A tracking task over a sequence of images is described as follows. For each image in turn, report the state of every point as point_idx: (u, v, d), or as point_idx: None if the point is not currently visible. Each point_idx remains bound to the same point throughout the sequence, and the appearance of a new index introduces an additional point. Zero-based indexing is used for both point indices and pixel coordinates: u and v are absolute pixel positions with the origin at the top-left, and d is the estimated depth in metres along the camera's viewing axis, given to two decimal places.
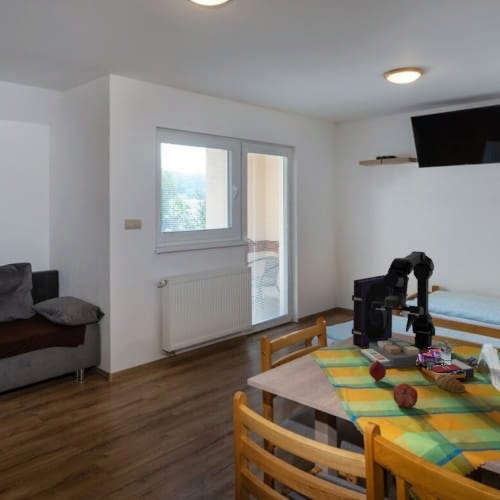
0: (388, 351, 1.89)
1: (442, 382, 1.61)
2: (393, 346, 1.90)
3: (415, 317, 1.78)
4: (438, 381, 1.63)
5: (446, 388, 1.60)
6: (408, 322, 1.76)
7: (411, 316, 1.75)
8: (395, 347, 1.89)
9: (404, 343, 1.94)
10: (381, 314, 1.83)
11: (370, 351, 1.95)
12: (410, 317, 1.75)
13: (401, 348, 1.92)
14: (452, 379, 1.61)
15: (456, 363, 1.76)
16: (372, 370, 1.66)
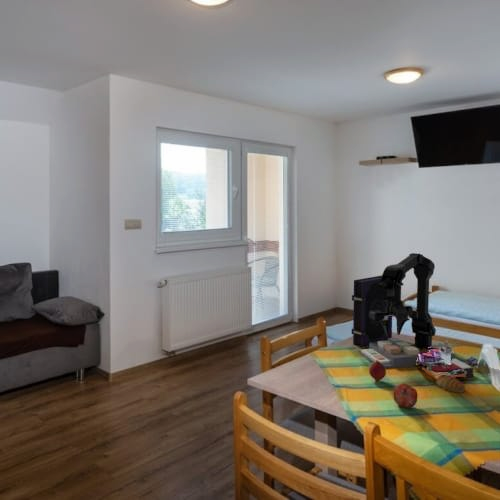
0: (388, 351, 1.89)
1: (442, 382, 1.61)
2: (393, 346, 1.90)
3: None
4: (438, 381, 1.63)
5: (447, 388, 1.60)
6: (401, 326, 1.88)
7: (405, 321, 1.87)
8: (395, 347, 1.89)
9: (404, 343, 1.94)
10: (387, 324, 1.86)
11: (370, 351, 1.95)
12: (404, 322, 1.87)
13: (401, 348, 1.92)
14: (452, 379, 1.61)
15: (455, 362, 1.77)
16: (372, 370, 1.66)
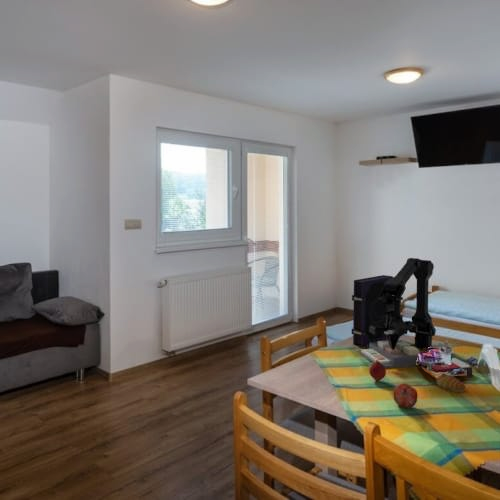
0: None
1: (443, 382, 1.62)
2: None
3: None
4: (439, 381, 1.63)
5: (447, 388, 1.60)
6: (396, 341, 1.88)
7: (400, 336, 1.87)
8: (395, 349, 1.89)
9: (404, 343, 1.94)
10: (392, 338, 1.87)
11: (370, 351, 1.95)
12: (398, 336, 1.88)
13: (401, 348, 1.92)
14: (453, 378, 1.62)
15: (455, 361, 1.78)
16: (372, 370, 1.66)
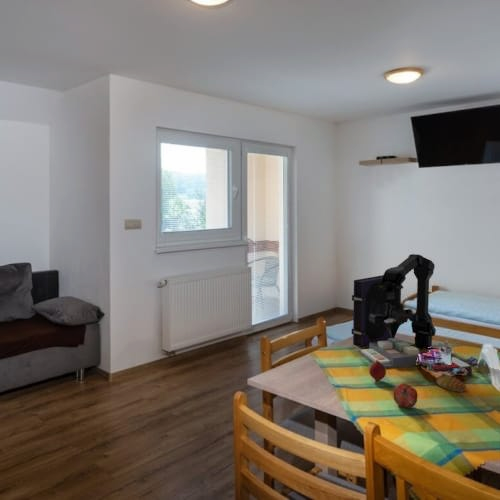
0: None
1: (443, 382, 1.62)
2: (393, 351, 1.90)
3: None
4: (439, 380, 1.63)
5: (447, 388, 1.60)
6: (396, 330, 1.88)
7: (400, 324, 1.87)
8: (395, 352, 1.89)
9: (404, 343, 1.94)
10: (392, 326, 1.87)
11: (370, 351, 1.95)
12: (399, 325, 1.87)
13: (401, 348, 1.92)
14: (453, 378, 1.62)
15: (454, 361, 1.79)
16: (372, 370, 1.66)
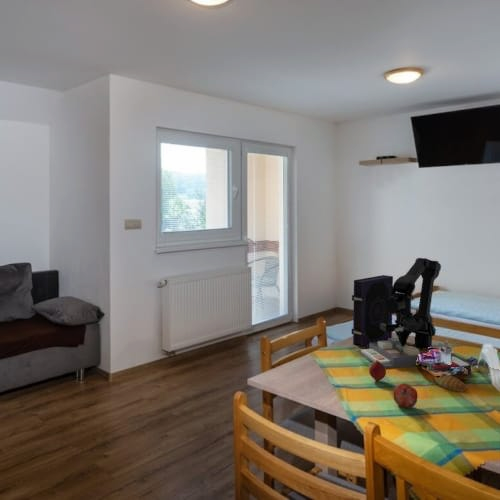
0: None
1: (443, 381, 1.62)
2: (393, 351, 1.90)
3: None
4: (439, 380, 1.63)
5: (448, 387, 1.60)
6: (406, 338, 1.93)
7: (410, 333, 1.92)
8: (395, 352, 1.89)
9: None
10: (402, 335, 1.92)
11: (370, 351, 1.95)
12: (409, 333, 1.92)
13: (401, 350, 1.92)
14: (453, 378, 1.62)
15: (454, 360, 1.80)
16: (372, 370, 1.66)
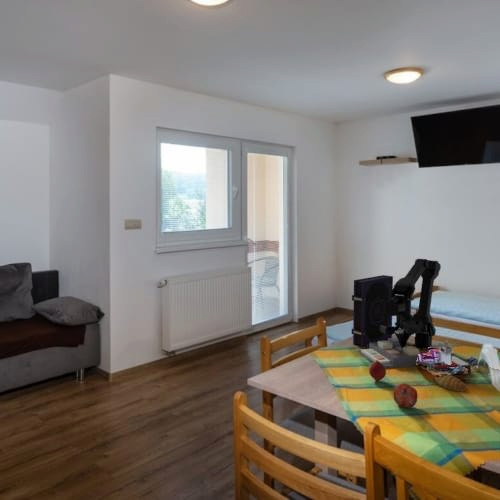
0: None
1: (444, 381, 1.62)
2: (393, 351, 1.90)
3: None
4: (439, 380, 1.64)
5: (448, 387, 1.61)
6: (406, 340, 1.93)
7: (410, 335, 1.92)
8: (395, 352, 1.89)
9: None
10: (402, 337, 1.92)
11: (370, 351, 1.95)
12: (409, 336, 1.92)
13: None
14: (453, 378, 1.62)
15: (454, 360, 1.80)
16: (372, 370, 1.66)
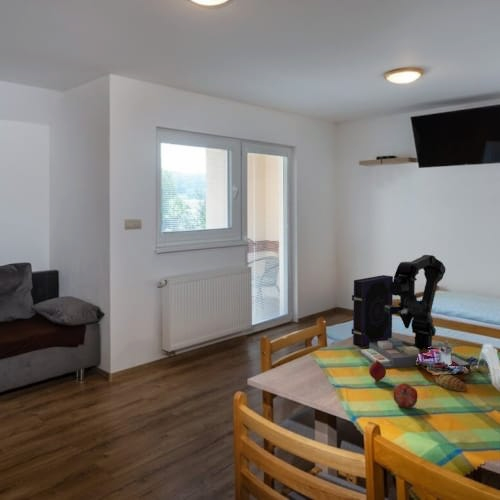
0: None
1: (444, 381, 1.62)
2: (393, 351, 1.90)
3: None
4: (440, 380, 1.64)
5: (448, 387, 1.61)
6: (410, 320, 1.95)
7: (414, 315, 1.94)
8: (395, 352, 1.89)
9: None
10: (406, 317, 1.94)
11: (370, 351, 1.95)
12: (412, 316, 1.95)
13: None
14: (453, 378, 1.62)
15: (453, 359, 1.81)
16: (372, 370, 1.66)
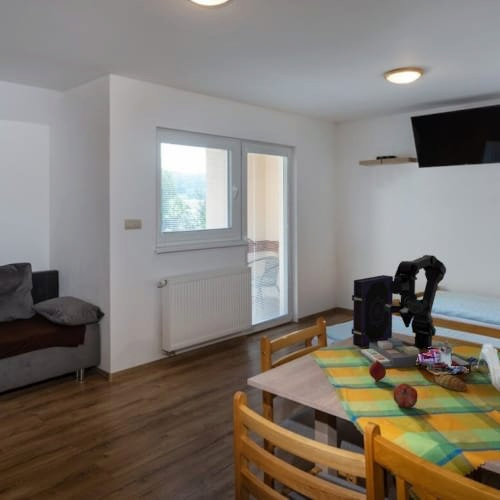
0: None
1: (444, 381, 1.62)
2: (393, 351, 1.90)
3: None
4: (440, 380, 1.64)
5: (448, 387, 1.61)
6: (410, 319, 1.96)
7: (414, 314, 1.95)
8: (395, 352, 1.89)
9: None
10: (406, 316, 1.95)
11: (370, 351, 1.95)
12: (413, 315, 1.95)
13: None
14: (454, 377, 1.63)
15: (454, 359, 1.81)
16: (372, 370, 1.66)
